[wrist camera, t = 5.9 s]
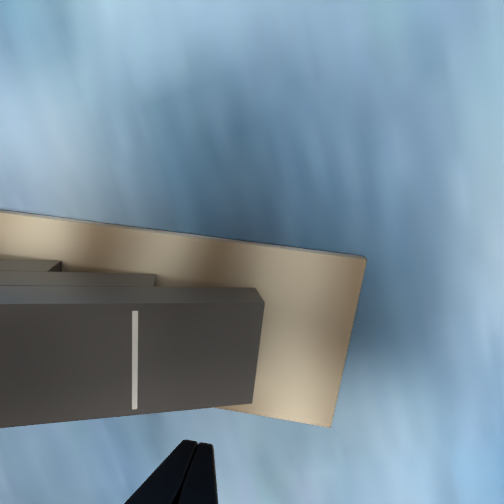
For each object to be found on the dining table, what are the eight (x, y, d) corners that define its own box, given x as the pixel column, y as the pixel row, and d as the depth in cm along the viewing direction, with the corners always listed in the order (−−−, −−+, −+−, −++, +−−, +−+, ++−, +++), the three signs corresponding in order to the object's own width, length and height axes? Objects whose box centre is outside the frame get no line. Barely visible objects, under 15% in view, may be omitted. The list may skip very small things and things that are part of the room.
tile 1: (265, 302, 12) (-31, 304, 9) (252, 403, 13) (-12, 429, 11) (255, 287, 13) (-1, 285, 11) (244, 379, 15) (12, 396, 12)
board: (363, 256, 13) (367, 259, 13) (329, 418, 15) (330, 427, 15) (-144, 191, 15) (-161, 192, 15) (-108, 343, 17) (-122, 349, 17)
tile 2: (153, 286, 12) (-159, 283, 10) (151, 386, 14) (-126, 406, 11) (156, 273, 14) (-113, 268, 11) (154, 364, 15) (-89, 377, 13)
